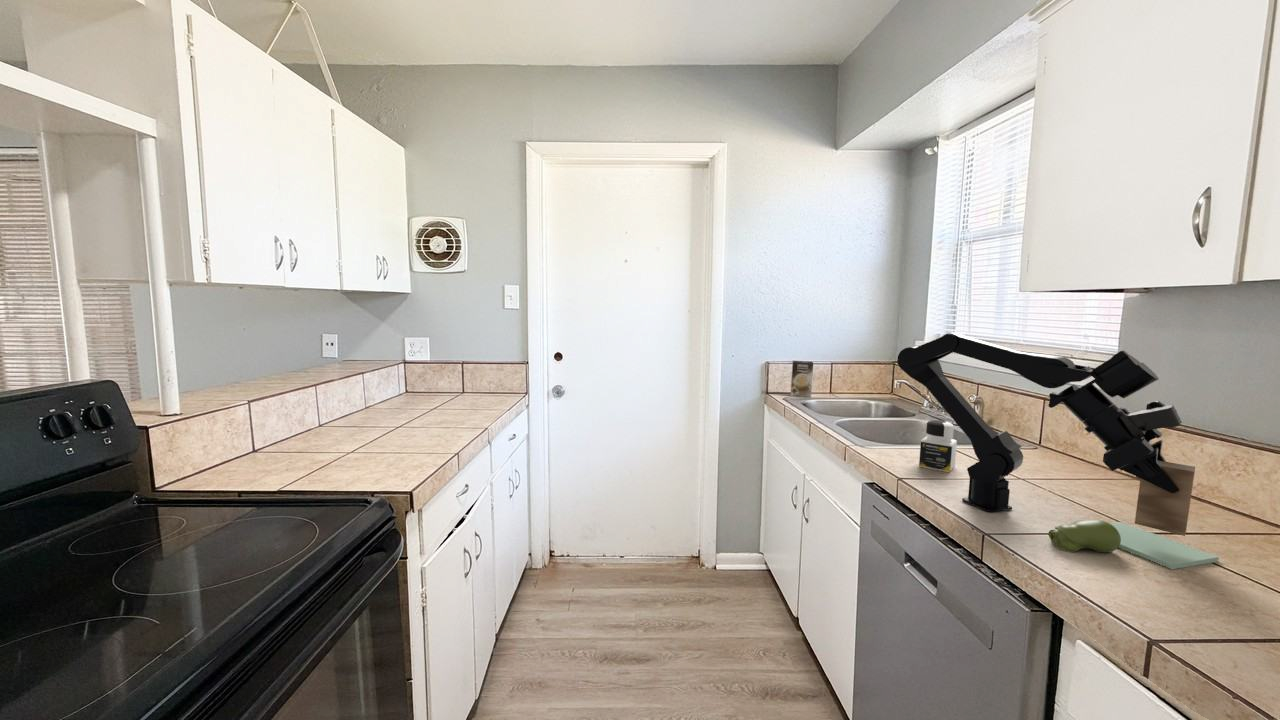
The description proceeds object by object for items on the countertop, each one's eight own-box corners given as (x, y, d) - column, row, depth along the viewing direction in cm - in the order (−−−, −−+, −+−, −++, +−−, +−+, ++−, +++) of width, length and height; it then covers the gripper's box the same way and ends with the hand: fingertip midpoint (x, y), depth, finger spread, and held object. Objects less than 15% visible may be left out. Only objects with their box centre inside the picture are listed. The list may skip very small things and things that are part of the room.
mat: (1077, 531, 95) (1078, 527, 95) (1120, 525, 98) (1120, 521, 98) (1171, 569, 82) (1172, 564, 81) (1218, 561, 84) (1218, 556, 84)
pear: (1128, 527, 84) (1060, 531, 86) (1130, 557, 85) (1063, 561, 87) (1104, 513, 90) (1040, 517, 92) (1106, 541, 90) (1043, 545, 92)
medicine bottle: (918, 466, 133) (921, 421, 131) (924, 460, 138) (927, 417, 137) (950, 472, 128) (953, 426, 127) (955, 466, 133) (958, 421, 132)
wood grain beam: (1134, 523, 88) (1142, 462, 87) (1137, 517, 91) (1145, 458, 90) (1184, 536, 84) (1194, 471, 82) (1186, 529, 86) (1195, 466, 85)
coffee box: (790, 396, 232) (792, 361, 230) (790, 394, 238) (791, 360, 236) (811, 397, 230) (813, 362, 228) (811, 395, 236) (812, 361, 234)
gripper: (1138, 392, 82) (1234, 477, 74) (1151, 381, 94) (1234, 454, 87) (1070, 430, 88) (1151, 511, 81) (1090, 416, 100) (1162, 485, 93)
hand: (1177, 489), depth 85 cm, fingers closed on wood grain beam, 4 cm apart
